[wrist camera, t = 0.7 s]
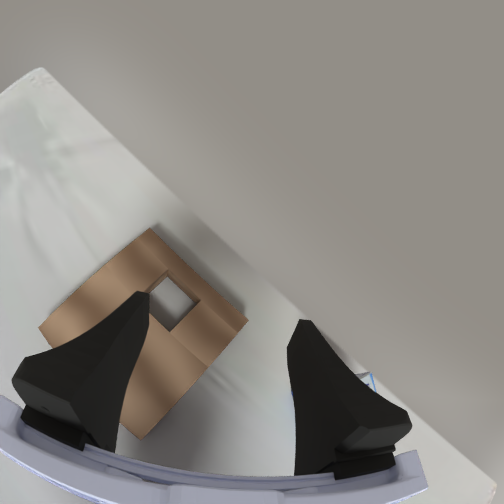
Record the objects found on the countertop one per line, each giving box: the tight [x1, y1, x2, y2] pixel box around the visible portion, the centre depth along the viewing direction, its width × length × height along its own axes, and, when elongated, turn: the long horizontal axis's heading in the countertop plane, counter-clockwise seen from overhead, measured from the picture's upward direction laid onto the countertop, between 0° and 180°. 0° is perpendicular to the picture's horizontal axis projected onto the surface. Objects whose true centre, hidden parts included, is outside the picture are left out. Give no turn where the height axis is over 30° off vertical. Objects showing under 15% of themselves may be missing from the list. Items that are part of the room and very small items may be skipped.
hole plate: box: [38, 228, 248, 440], centre depth 24 cm, size 16×14×2 cm
